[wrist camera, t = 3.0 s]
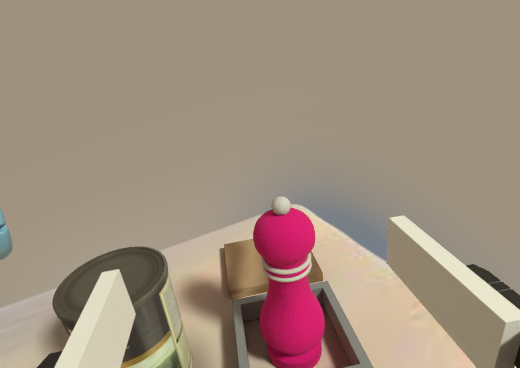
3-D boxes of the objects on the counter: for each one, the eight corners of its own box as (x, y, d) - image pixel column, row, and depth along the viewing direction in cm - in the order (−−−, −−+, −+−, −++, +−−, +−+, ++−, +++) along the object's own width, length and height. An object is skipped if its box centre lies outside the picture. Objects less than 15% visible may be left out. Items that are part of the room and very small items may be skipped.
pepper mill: (251, 352, 37) (225, 203, 29) (290, 314, 41) (276, 176, 33) (300, 393, 32) (284, 226, 24) (338, 345, 36) (336, 191, 28)
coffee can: (161, 435, 30) (118, 329, 24) (79, 408, 33) (24, 309, 27) (209, 343, 38) (185, 250, 33) (140, 329, 42) (108, 241, 36)
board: (230, 299, 45) (228, 291, 44) (225, 251, 56) (224, 244, 55) (322, 280, 46) (322, 272, 46) (300, 237, 57) (300, 230, 57)
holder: (246, 421, 30) (242, 402, 29) (235, 317, 42) (232, 300, 41) (373, 390, 31) (374, 370, 30) (327, 297, 43) (327, 281, 42)
